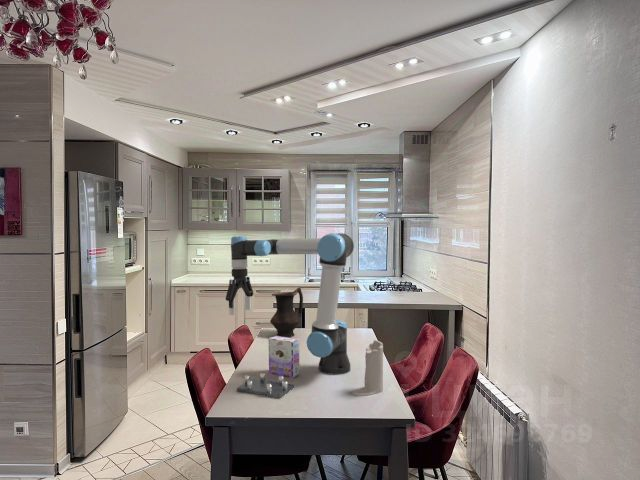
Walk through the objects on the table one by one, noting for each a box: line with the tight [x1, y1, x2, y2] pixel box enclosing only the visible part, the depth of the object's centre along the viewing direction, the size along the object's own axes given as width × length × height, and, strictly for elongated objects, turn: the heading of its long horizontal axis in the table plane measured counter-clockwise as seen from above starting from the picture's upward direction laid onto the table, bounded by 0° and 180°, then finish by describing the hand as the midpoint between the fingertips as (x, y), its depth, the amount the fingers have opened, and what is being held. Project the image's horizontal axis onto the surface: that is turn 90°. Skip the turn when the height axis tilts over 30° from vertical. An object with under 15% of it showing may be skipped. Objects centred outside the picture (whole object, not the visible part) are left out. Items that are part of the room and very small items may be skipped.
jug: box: [269, 286, 304, 338], centre depth 264 cm, size 21×18×30 cm
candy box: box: [268, 335, 300, 379], centre depth 194 cm, size 14×6×16 cm, turn 58°
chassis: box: [236, 372, 295, 399], centre depth 175 cm, size 20×12×4 cm, turn 67°
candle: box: [351, 339, 384, 397], centre depth 173 cm, size 7×14×20 cm, turn 119°
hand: (240, 312), depth 204 cm, fingers open, 13 cm apart
